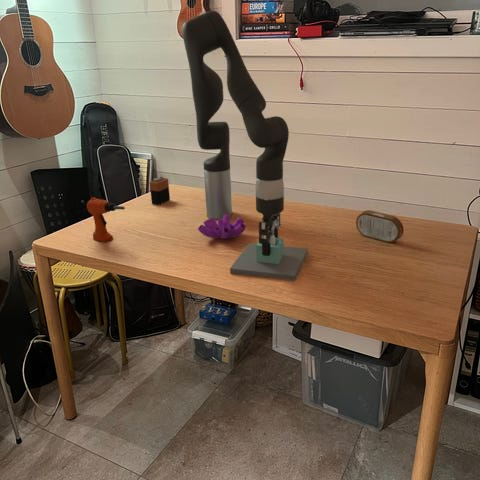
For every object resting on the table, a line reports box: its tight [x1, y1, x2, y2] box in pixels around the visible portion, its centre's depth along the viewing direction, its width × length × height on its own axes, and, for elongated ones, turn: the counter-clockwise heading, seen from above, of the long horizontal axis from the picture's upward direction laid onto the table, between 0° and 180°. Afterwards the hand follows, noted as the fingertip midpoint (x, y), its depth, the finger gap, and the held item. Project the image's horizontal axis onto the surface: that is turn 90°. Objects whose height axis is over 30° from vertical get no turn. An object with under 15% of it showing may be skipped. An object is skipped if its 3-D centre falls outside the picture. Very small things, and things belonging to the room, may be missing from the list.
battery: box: [149, 175, 171, 206], centre depth 190 cm, size 4×7×10 cm, turn 152°
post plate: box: [229, 235, 309, 282], centre depth 136 cm, size 18×18×9 cm
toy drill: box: [86, 197, 126, 243], centre depth 153 cm, size 5×18×14 cm, turn 53°
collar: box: [256, 236, 285, 264], centre depth 136 cm, size 6×6×5 cm
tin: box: [355, 209, 404, 244], centre depth 150 cm, size 15×3×8 cm, turn 47°
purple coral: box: [197, 215, 247, 240], centre depth 155 cm, size 11×15×10 cm
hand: (270, 249), depth 136 cm, fingers open, 8 cm apart
